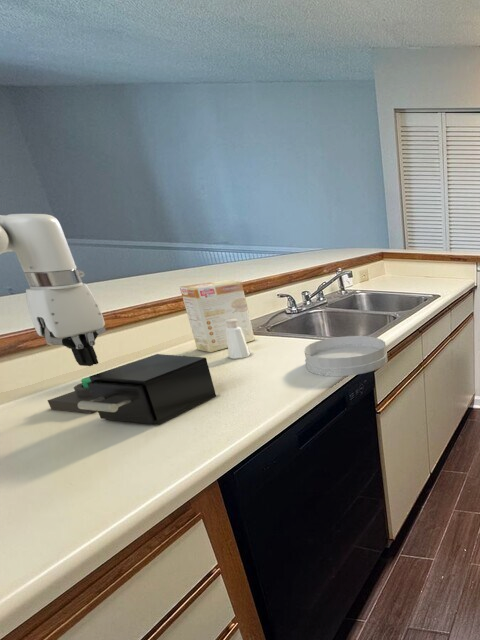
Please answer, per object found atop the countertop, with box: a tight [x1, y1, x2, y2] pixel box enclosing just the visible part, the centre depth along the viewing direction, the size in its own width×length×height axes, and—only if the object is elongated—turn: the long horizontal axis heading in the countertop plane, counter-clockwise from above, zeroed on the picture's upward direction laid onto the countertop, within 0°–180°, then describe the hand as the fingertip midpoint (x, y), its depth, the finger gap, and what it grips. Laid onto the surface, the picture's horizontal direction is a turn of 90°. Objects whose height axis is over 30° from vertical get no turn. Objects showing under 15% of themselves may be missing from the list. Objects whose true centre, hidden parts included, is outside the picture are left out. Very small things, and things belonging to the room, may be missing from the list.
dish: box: [303, 335, 388, 377], centre depth 121 cm, size 22×22×5 cm
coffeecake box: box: [179, 279, 256, 353], centre depth 132 cm, size 15×7×20 cm, turn 157°
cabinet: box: [88, 353, 217, 426], centre depth 91 cm, size 15×13×10 cm
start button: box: [80, 376, 91, 388], centre depth 94 cm, size 4×4×2 cm
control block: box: [47, 382, 97, 414], centre depth 94 cm, size 10×12×4 cm
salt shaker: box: [226, 319, 251, 360], centre depth 123 cm, size 5×5×11 cm
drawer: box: [78, 381, 155, 424], centre depth 87 cm, size 18×11×8 cm, turn 171°
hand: (88, 364), depth 92 cm, fingers closed
